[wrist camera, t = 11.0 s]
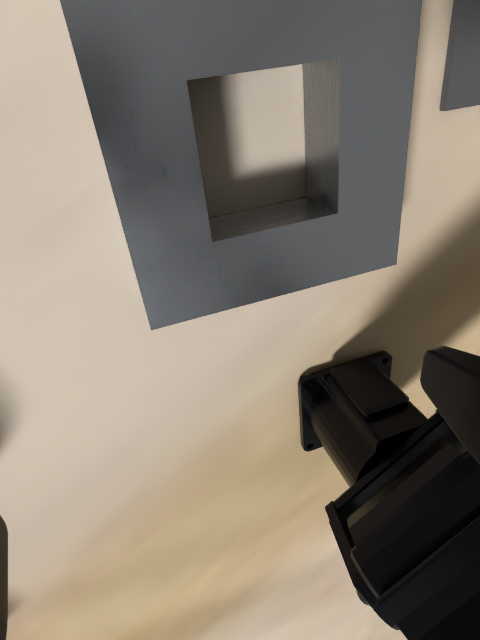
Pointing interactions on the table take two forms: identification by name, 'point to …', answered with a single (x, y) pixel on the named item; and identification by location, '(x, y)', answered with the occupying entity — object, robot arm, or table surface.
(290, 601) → the table surface
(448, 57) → the mat
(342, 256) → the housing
